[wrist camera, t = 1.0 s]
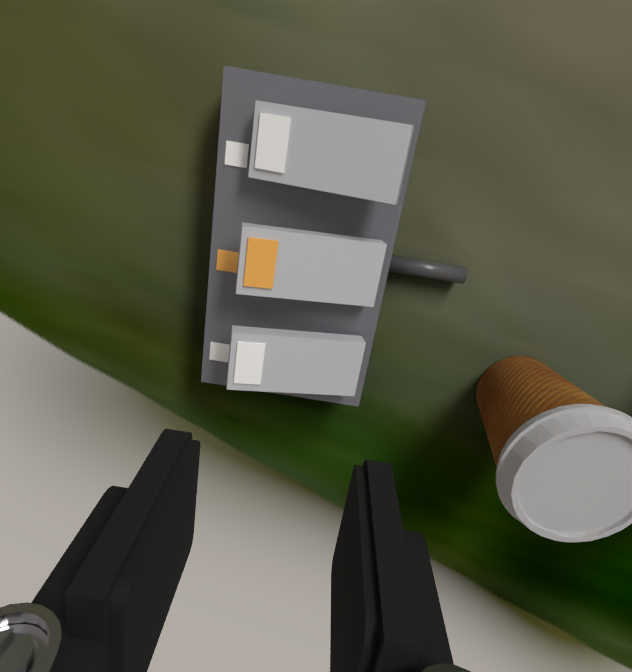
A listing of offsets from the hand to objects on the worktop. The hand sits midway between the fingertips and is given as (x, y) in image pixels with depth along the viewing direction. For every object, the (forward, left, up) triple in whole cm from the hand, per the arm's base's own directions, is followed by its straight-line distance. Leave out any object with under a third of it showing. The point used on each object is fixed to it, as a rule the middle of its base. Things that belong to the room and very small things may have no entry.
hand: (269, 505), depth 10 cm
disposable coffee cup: (-18, +9, -27) cm, 34 cm away
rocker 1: (0, -7, -21) cm, 22 cm away
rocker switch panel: (-2, 0, -27) cm, 27 cm away
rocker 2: (0, 0, -21) cm, 21 cm away
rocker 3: (0, +7, -21) cm, 22 cm away
